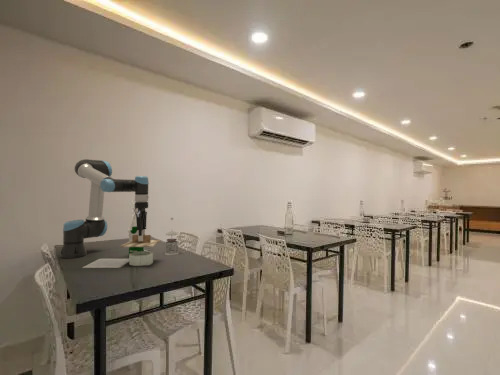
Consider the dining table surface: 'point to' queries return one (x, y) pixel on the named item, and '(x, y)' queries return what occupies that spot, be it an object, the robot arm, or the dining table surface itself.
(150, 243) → the birch board
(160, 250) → the dining table surface
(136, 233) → the milk carton
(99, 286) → the dining table surface
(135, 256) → the ceramic bowl
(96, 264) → the rubber mat
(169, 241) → the french press
